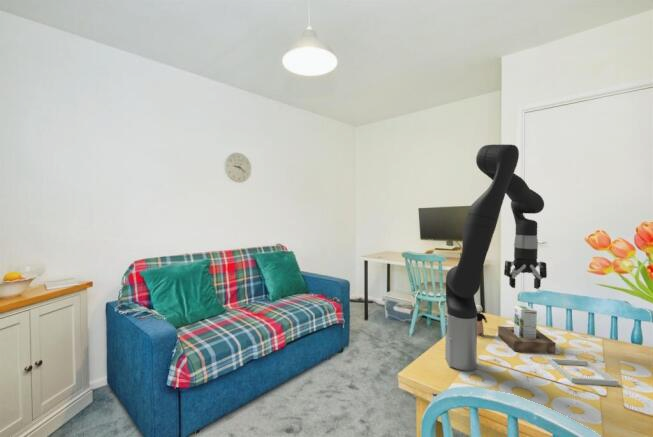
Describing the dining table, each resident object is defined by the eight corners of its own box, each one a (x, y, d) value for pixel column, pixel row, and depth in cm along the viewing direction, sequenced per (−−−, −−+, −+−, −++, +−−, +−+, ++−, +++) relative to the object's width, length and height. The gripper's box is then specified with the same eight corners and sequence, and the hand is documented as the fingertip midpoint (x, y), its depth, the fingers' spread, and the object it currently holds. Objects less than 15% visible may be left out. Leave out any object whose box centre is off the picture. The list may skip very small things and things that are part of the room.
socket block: (514, 351, 111) (514, 340, 111) (498, 335, 125) (498, 326, 125) (555, 353, 109) (555, 343, 109) (534, 337, 123) (534, 328, 123)
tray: (571, 382, 91) (571, 378, 91) (547, 362, 103) (547, 357, 103) (617, 386, 89) (617, 381, 89) (587, 364, 101) (587, 360, 101)
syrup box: (513, 340, 120) (513, 305, 120) (528, 341, 119) (529, 305, 119) (520, 347, 114) (520, 309, 114) (536, 348, 114) (537, 310, 113)
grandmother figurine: (481, 331, 129) (481, 302, 129) (488, 335, 125) (488, 305, 125) (467, 334, 127) (467, 304, 126) (474, 337, 123) (474, 307, 123)
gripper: (510, 247, 113) (509, 289, 114) (551, 248, 111) (550, 291, 112) (501, 245, 121) (500, 284, 121) (540, 245, 119) (539, 286, 119)
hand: (524, 287), depth 116 cm, fingers open, 8 cm apart
